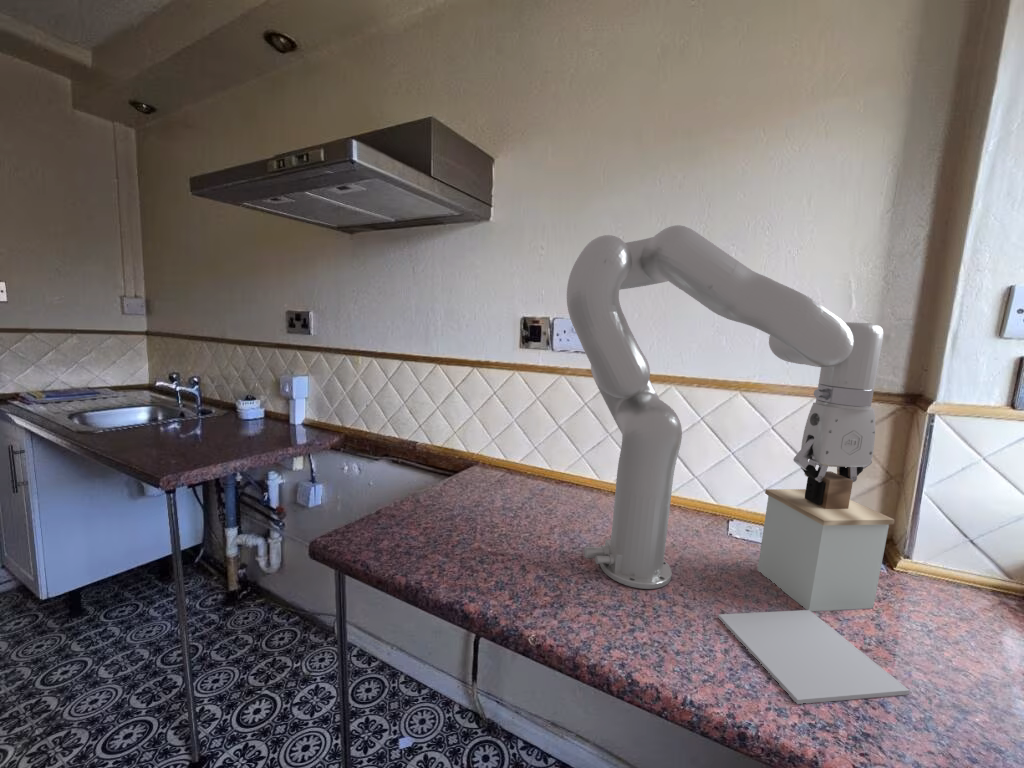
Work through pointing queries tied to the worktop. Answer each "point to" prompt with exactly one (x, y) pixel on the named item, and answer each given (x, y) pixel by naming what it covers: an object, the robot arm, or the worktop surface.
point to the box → (821, 559)
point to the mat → (810, 657)
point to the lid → (831, 504)
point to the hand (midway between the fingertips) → (826, 500)
